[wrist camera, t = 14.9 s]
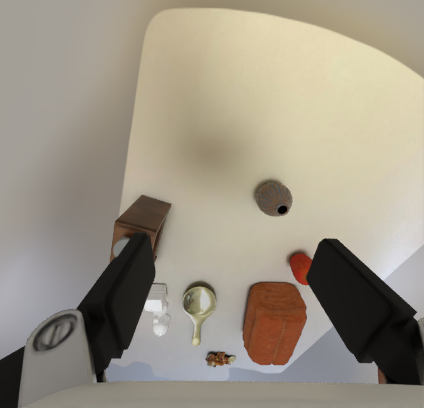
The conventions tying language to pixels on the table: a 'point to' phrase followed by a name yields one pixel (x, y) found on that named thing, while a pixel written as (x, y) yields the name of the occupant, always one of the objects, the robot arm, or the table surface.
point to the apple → (300, 267)
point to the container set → (158, 308)
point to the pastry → (219, 359)
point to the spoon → (198, 308)
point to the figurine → (120, 245)
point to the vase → (274, 199)
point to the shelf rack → (142, 221)
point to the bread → (273, 322)
